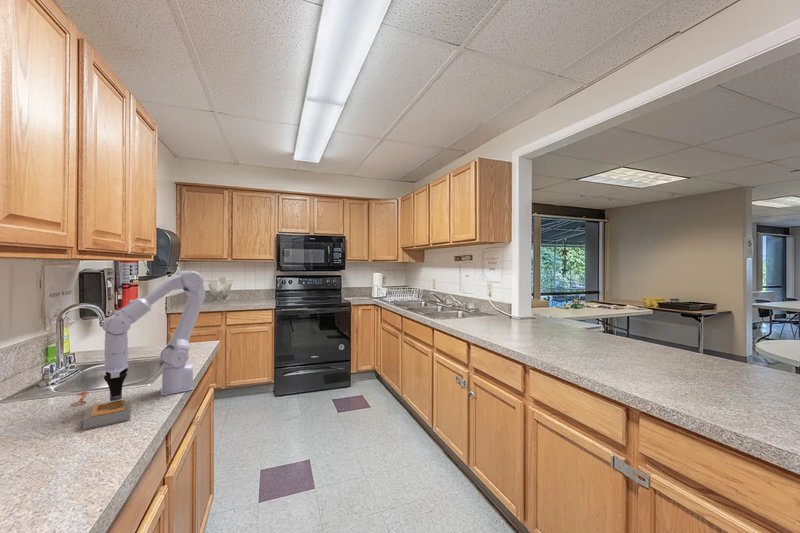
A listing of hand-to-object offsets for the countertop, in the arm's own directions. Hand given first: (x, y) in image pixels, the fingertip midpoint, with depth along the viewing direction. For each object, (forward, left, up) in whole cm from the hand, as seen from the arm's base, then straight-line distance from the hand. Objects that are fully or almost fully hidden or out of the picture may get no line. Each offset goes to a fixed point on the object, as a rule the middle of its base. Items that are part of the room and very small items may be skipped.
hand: (116, 394), depth 107 cm
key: (+10, -14, -4) cm, 18 cm away
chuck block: (+1, +12, -4) cm, 13 cm away
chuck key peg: (0, 0, -2) cm, 2 cm away
